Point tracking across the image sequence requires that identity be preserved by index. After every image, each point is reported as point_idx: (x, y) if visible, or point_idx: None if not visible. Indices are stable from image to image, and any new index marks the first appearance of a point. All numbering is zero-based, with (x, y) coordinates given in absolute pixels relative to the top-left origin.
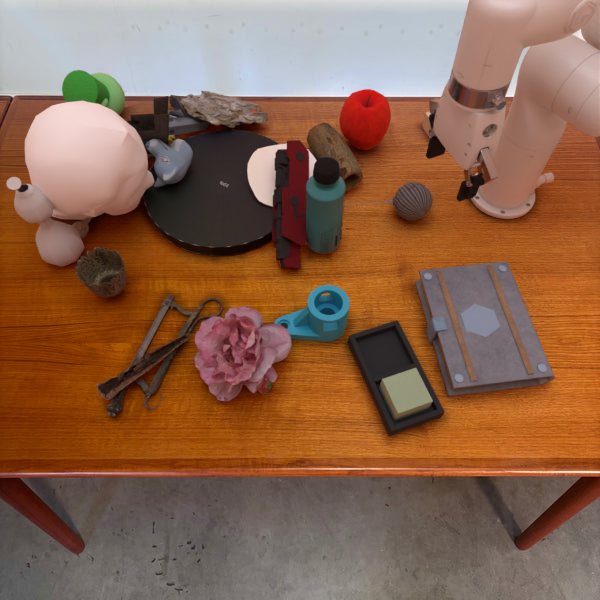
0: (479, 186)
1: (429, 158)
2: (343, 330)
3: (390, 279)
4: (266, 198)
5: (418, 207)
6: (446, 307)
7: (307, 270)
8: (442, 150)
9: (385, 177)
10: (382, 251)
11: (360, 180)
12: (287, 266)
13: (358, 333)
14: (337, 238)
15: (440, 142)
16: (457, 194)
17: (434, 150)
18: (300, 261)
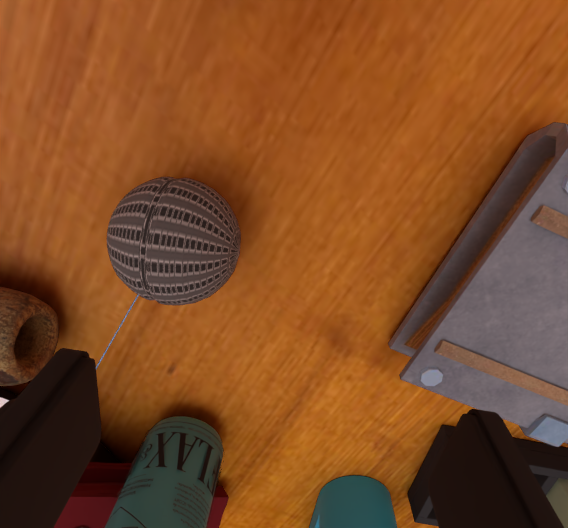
0: (543, 491)
1: (100, 437)
2: (392, 506)
3: (343, 372)
4: None
5: (222, 277)
6: (530, 391)
7: (233, 472)
8: (73, 402)
9: (33, 193)
10: (267, 344)
11: (36, 307)
12: (218, 526)
13: (423, 510)
14: (214, 481)
15: (18, 523)
16: (435, 515)
17: (65, 476)
18: (215, 497)
